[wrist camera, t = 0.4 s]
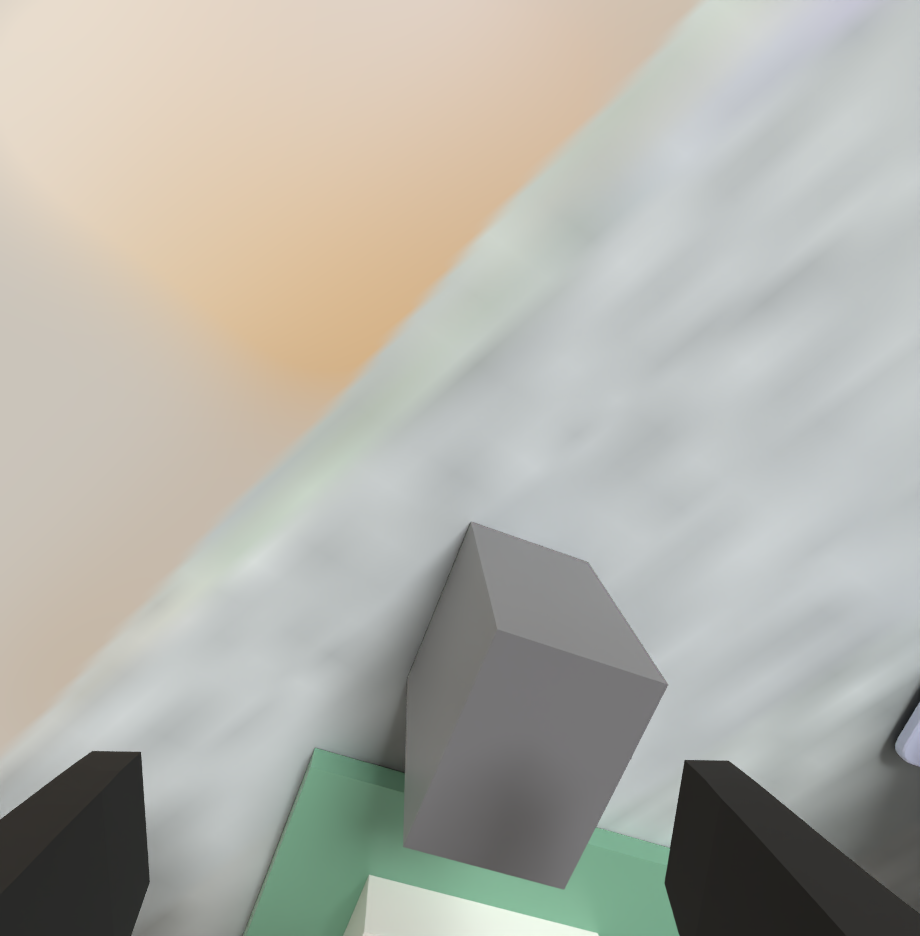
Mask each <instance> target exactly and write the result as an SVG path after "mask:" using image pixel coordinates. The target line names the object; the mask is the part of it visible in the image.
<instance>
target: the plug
mask: <svg viewBox="0 0 920 936" xmlns="http://www.w3.org/2000/svg"><path fill="white" fill-rule="evenodd" d="M667 686H668V684H667V682H666V681H665V679H664V677H663V676H662V674H661V673H660V671H659V670H658V668H657V667H656V665H655V664H654V662H653V661H652V659H651V658H650V656H649V655H648V653H647V651H646V650H645V648H644V647H643V645H642V644H641V642H640V641H639V639H638V638H637V636H636V635H635V633H634V632H633V630H632V629H631V627H630V626H629V624H628V622H627V621H626V619H625V618H624V616H623V615H622V613H621V612H620V610H619V609H618V607H617V606H616V604H615V603H614V601H613V600H612V598H611V596H610V595H609V593H608V592H607V590H606V589H605V587H604V586H603V584H602V583H601V581H600V580H599V578H598V577H597V575H596V574H595V572H594V570H593V569H592V567H591V566H590V564H589V563H588V562H586V561H583V560H580V559H577V558H574V557H571V556H568V555H566V554H563V553H560V552H557V551H554V550H551V549H548V548H545V547H543V546H540V545H537V544H534V543H531V542H528V541H525V540H522V539H520V538H517V537H514V536H511V535H508V534H505V533H502V532H499V531H497V530H494V529H491V528H488V527H485V526H482V525H479V524H476V523H474V522H471V523H470V525H469V528H468V530H467V533H466V535H465V538H464V540H463V543H462V545H461V547H460V550H459V552H458V555H457V557H456V560H455V562H454V565H453V567H452V570H451V572H450V575H449V577H448V579H447V582H446V584H445V587H444V589H443V592H442V594H441V597H440V599H439V602H438V604H437V606H436V609H435V611H434V614H433V616H432V619H431V621H430V624H429V626H428V629H427V631H426V633H425V636H424V638H423V641H422V643H421V646H420V648H419V651H418V653H417V656H416V658H415V660H414V663H413V665H412V668H411V670H410V673H409V675H408V678H407V711H406V750H405V789H404V828H403V847H405V848H409V849H412V850H416V851H420V852H424V853H427V854H431V855H435V856H439V857H442V858H446V859H450V860H454V861H457V862H461V863H465V864H469V865H472V866H476V867H480V868H484V869H488V870H491V871H495V872H499V873H503V874H506V875H510V876H514V877H518V878H521V879H525V880H529V881H533V882H536V883H540V884H544V885H548V886H551V887H555V888H559V889H563V890H564V889H565V887H566V885H567V883H568V881H569V879H570V877H571V876H572V874H573V872H574V870H575V868H576V866H577V864H578V862H579V860H580V858H581V856H582V854H583V852H584V850H585V848H586V846H587V844H588V842H589V840H590V838H591V836H592V834H593V832H594V830H595V828H596V826H597V824H598V822H599V820H600V818H601V816H602V814H603V812H604V810H605V808H606V806H607V804H608V802H609V800H610V798H611V796H612V795H613V793H614V791H615V789H616V787H617V785H618V783H619V781H620V779H621V777H622V775H623V773H624V771H625V769H626V767H627V765H628V763H629V761H630V759H631V757H632V755H633V753H634V751H635V749H636V747H637V745H638V743H639V741H640V739H641V737H642V735H643V733H644V731H645V729H646V727H647V725H648V723H649V721H650V719H651V717H652V715H653V714H654V712H655V710H656V708H657V706H658V704H659V702H660V700H661V698H662V696H663V694H664V692H665V690H666V688H667Z"/></svg>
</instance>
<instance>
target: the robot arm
mask: <svg viewBox="0 0 920 936" xmlns="http://www.w3.org/2000/svg"><path fill="white" fill-rule="evenodd" d="M895 750H896V752H897V754H898V755H899V756H900V757H901V758H902V759H903V760H904V761H906V762H907V763H909V764H912V765H915V766H918V767H920V702H919V704H918V706H917V707H916V709H915V711H914V712H913V714H912V715H911V717H910V719H909V720H908V722H907V724H906V725H905V727H904V729H903V730H902V732H901V734H900V735H899V737H898V739H897V741H896V744H895ZM149 882H150V880H149V865H148V850H147V835H146V820H145V805H144V791H143V776H142V761H141V752H110V751H92V752H91V753H89V754H88V755H86V756H85V757H83V758H82V759H81V760H79V761H78V762H76V763H75V764H74V765H72V766H71V767H69V768H68V769H67V770H65V771H64V772H63V773H61V774H60V775H59V776H57V777H56V778H55V779H53V780H52V781H51V782H49V783H48V784H47V785H45V786H44V787H43V788H41V789H40V790H39V791H37V792H36V793H35V794H33V795H32V796H31V797H29V798H28V799H27V800H25V801H24V802H23V803H22V804H20V805H19V806H18V807H16V808H15V809H14V810H12V811H11V812H10V813H8V814H7V815H6V816H4V817H3V818H2V819H0V936H131V934H132V931H133V928H134V926H135V923H136V920H137V917H138V914H139V911H140V908H141V905H142V903H143V900H144V897H145V894H146V891H147V888H148V885H149ZM664 884H665V887H666V891H667V894H668V898H669V901H670V905H671V908H672V912H673V915H674V919H675V923H676V926H677V930H678V933H679V936H920V914H919V913H918V912H916V911H915V910H914V909H912V908H911V907H910V906H909V905H907V904H906V903H905V902H903V901H902V900H901V899H899V898H898V897H897V896H896V895H894V894H893V893H892V892H891V891H889V890H888V889H887V888H885V887H884V886H883V885H882V884H880V883H879V882H878V881H877V880H875V879H874V878H873V877H872V876H870V875H869V874H868V873H867V872H865V871H864V870H863V869H862V868H860V867H859V866H858V865H857V864H855V863H854V862H853V861H852V860H850V859H849V858H848V857H847V856H845V855H844V854H843V853H842V852H841V851H839V850H838V849H837V848H836V847H834V846H833V845H832V844H831V843H830V842H828V841H827V840H826V839H825V838H823V837H822V836H821V835H820V834H819V833H817V832H816V831H815V830H814V829H812V828H811V827H810V826H809V825H808V824H806V823H805V822H804V821H803V820H802V819H800V818H799V817H798V816H797V815H795V814H794V813H793V812H792V811H791V810H789V809H788V808H787V807H786V806H785V805H783V804H782V803H781V802H780V801H779V800H777V799H776V798H775V797H774V796H772V795H771V794H770V793H769V792H768V791H766V790H765V789H764V788H763V787H761V786H760V785H759V784H758V783H756V782H755V781H754V780H753V779H751V778H750V777H749V776H748V775H746V774H745V773H744V772H743V771H741V770H740V769H739V768H737V767H736V766H735V765H733V764H732V763H731V762H729V761H708V760H685V762H684V768H683V774H682V780H681V786H680V792H679V798H678V804H677V810H676V816H675V822H674V828H673V834H672V840H671V846H670V852H669V858H668V864H667V870H666V876H665V882H664Z"/></svg>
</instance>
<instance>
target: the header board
mask: <svg viewBox="0 0 920 936" xmlns="http://www.w3.org/2000/svg"><path fill="white" fill-rule="evenodd" d="M404 789H405V773H402V772H399V771H395V770H392V769H388V768H384V767H381V766H377V765H374V764H370V763H367V762H363V761H360V760H356V759H353V758H349V757H346V756H342V755H338V754H335V753H331V752H328V751H324V750H321V749H317V748H315V750H314V752H313V755H312V757H311V760H310V763H309V765H308V768H307V771H306V773H305V776H304V778H303V781H302V784H301V786H300V789H299V791H298V794H297V797H296V799H295V802H294V805H293V807H292V810H291V812H290V815H289V818H288V820H287V823H286V825H285V828H284V831H283V833H282V836H281V838H280V841H279V844H278V846H277V849H276V852H275V854H274V857H273V859H272V862H271V865H270V867H269V870H268V872H267V875H266V878H265V880H264V883H263V885H262V888H261V891H260V893H259V896H258V899H257V901H256V904H255V906H254V909H253V912H252V914H251V917H250V919H249V922H248V925H247V927H246V930H245V932H244V935H243V936H679V933H678V930H677V926H676V923H675V919H674V915H673V912H672V908H671V905H670V901H669V898H668V894H667V891H666V887H665V884H664V882H665V876H666V870H667V864H668V858H669V852H670V848H668V847H664V846H660V845H657V844H653V843H650V842H646V841H643V840H639V839H636V838H632V837H629V836H625V835H622V834H618V833H614V832H611V831H607V830H604V829H600V828H597V827H596V828H595V830H594V832H593V834H592V836H591V838H590V840H589V842H588V844H587V846H586V848H585V850H584V852H583V854H582V856H581V858H580V860H579V862H578V864H577V866H576V868H575V870H574V872H573V874H572V876H571V877H570V879H569V881H568V883H567V885H566V887H565V889H564V890H563V889H559V888H555V887H551V886H548V885H544V884H540V883H536V882H533V881H529V880H525V879H521V878H518V877H514V876H510V875H506V874H503V873H499V872H495V871H491V870H488V869H484V868H480V867H476V866H472V865H469V864H465V863H461V862H457V861H454V860H450V859H446V858H442V857H439V856H435V855H431V854H427V853H424V852H420V851H416V850H412V849H409V848H405V847H403V828H404Z"/></svg>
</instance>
